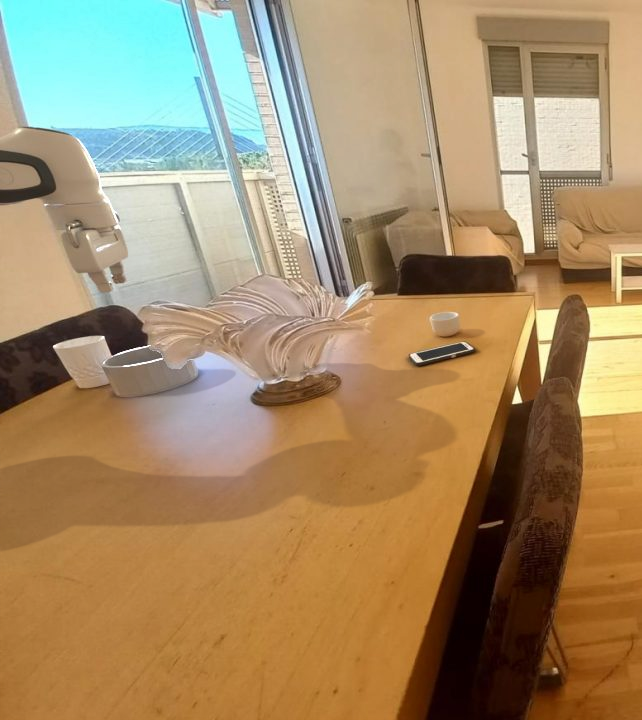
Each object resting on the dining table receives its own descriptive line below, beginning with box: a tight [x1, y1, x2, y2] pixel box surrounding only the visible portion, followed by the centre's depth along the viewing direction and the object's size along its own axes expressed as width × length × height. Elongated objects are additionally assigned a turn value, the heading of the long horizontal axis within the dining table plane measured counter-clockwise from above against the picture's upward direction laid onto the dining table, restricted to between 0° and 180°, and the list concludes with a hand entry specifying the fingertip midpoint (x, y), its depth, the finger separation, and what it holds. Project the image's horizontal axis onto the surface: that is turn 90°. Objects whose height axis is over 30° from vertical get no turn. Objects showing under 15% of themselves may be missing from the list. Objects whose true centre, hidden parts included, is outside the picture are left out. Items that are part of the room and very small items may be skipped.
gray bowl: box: [100, 345, 199, 398], centre depth 106 cm, size 14×14×7 cm
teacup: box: [429, 311, 461, 338], centre depth 133 cm, size 10×8×5 cm
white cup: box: [52, 335, 113, 389], centre depth 107 cm, size 8×8×10 cm
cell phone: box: [408, 340, 476, 367], centre depth 118 cm, size 8×15×1 cm, turn 127°
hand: (114, 287), depth 99 cm, fingers open, 8 cm apart
